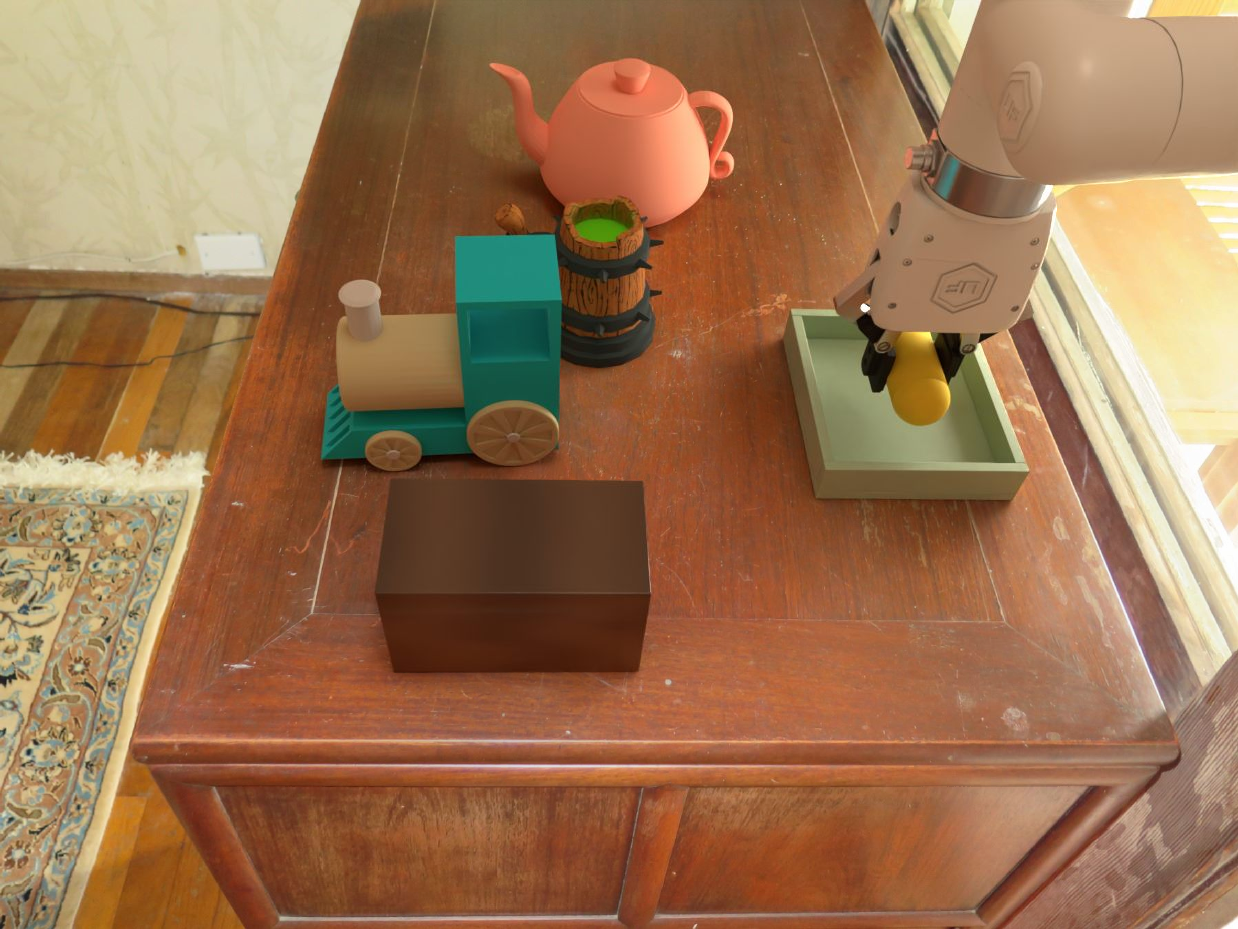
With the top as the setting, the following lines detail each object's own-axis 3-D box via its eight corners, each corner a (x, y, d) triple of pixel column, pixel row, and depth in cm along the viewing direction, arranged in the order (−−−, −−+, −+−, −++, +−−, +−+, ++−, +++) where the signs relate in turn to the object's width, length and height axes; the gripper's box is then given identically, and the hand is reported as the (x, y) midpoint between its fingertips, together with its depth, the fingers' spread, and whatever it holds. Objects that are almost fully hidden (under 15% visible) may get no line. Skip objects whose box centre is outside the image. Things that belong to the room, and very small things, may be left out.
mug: (653, 286, 84) (667, 169, 76) (662, 371, 78) (678, 254, 69) (500, 283, 84) (496, 164, 75) (496, 369, 77) (491, 250, 68)
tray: (1012, 500, 72) (1030, 471, 69) (815, 498, 71) (825, 469, 68) (955, 342, 82) (968, 312, 80) (782, 338, 81) (790, 308, 79)
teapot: (490, 237, 87) (483, 109, 78) (499, 138, 97) (494, 14, 88) (736, 246, 89) (760, 120, 79) (721, 147, 99) (740, 25, 89)
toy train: (330, 394, 74) (292, 231, 63) (551, 386, 76) (553, 227, 65) (322, 476, 69) (279, 315, 58) (558, 466, 71) (562, 308, 60)
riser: (633, 564, 66) (643, 480, 59) (638, 672, 61) (651, 594, 54) (406, 563, 65) (390, 477, 58) (393, 672, 60) (374, 593, 53)
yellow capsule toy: (946, 438, 71) (964, 399, 68) (891, 437, 70) (907, 399, 67) (911, 332, 78) (927, 293, 75) (861, 331, 77) (875, 291, 74)
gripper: (866, 201, 57) (800, 415, 71) (1146, 210, 58) (1026, 419, 72) (842, 128, 61) (785, 342, 76) (1101, 137, 63) (998, 347, 77)
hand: (904, 378), depth 74 cm, fingers closed on yellow capsule toy, 4 cm apart
